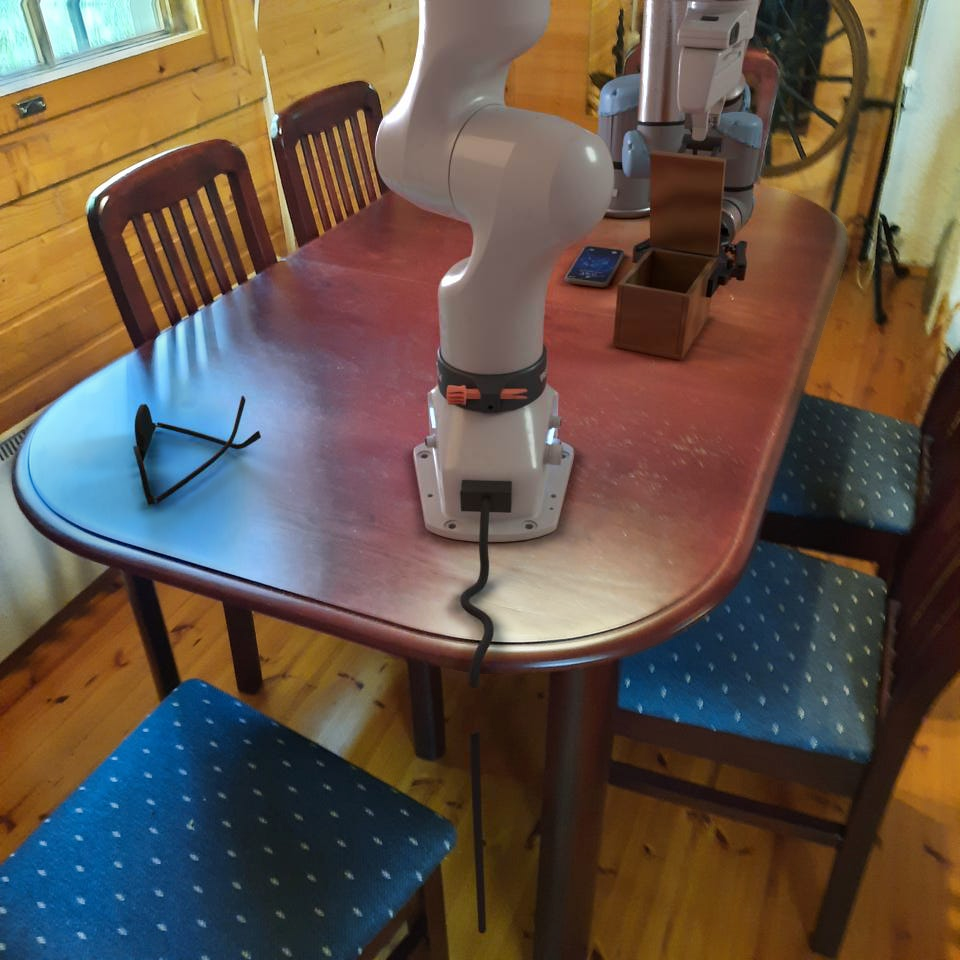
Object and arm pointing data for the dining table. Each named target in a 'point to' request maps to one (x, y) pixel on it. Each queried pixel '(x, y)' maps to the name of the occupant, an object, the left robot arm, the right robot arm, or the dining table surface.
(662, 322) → the chest
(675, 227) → the lid
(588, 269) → the smartphone
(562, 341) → the dining table surface
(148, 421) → the sunglasses
